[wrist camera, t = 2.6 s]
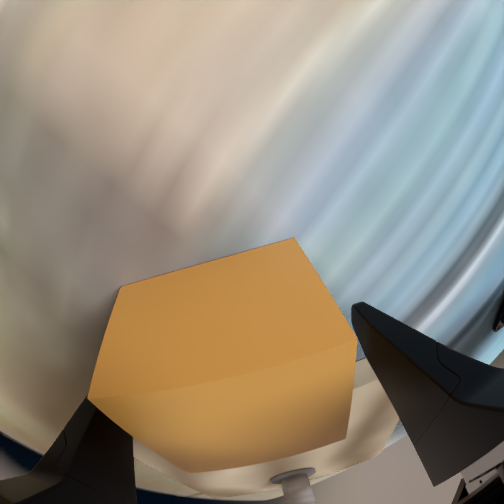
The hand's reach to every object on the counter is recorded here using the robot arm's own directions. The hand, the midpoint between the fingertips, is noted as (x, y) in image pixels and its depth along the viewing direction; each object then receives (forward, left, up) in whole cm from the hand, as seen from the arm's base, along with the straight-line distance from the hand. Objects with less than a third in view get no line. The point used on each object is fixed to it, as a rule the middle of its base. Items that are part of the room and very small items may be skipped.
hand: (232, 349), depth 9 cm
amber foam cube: (0, 0, -1) cm, 1 cm away
